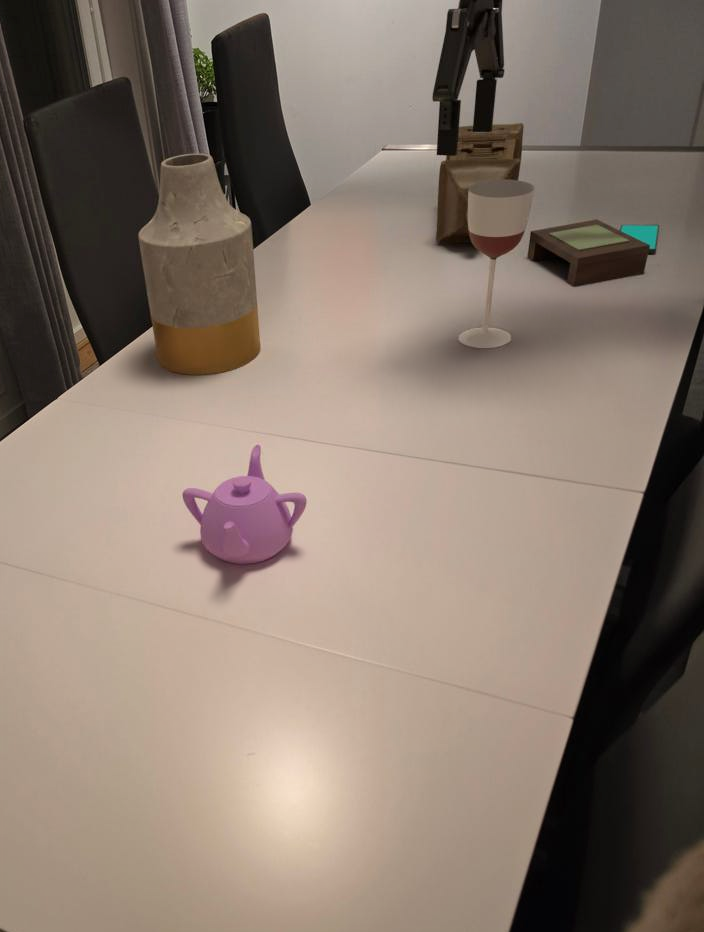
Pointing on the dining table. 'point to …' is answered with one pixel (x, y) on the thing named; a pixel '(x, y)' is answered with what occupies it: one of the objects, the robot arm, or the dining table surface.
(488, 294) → the wineglass
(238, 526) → the teapot
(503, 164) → the ornamental box
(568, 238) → the shelf
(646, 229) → the smartphone
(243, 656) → the dining table surface
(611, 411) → the dining table surface
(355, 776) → the dining table surface
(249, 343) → the vase
